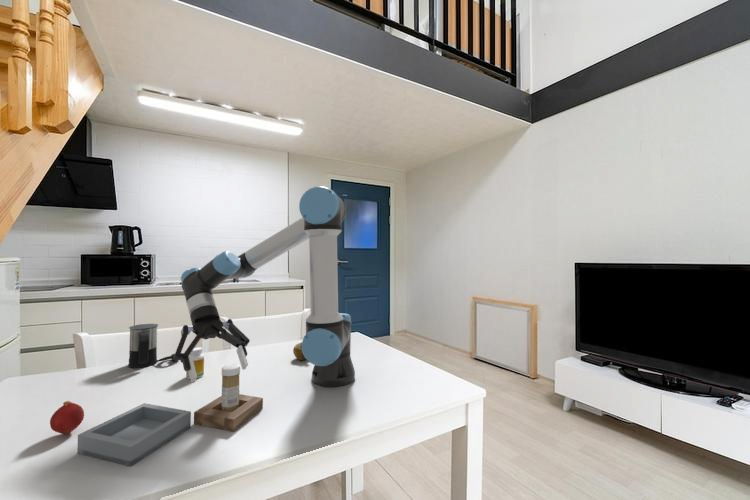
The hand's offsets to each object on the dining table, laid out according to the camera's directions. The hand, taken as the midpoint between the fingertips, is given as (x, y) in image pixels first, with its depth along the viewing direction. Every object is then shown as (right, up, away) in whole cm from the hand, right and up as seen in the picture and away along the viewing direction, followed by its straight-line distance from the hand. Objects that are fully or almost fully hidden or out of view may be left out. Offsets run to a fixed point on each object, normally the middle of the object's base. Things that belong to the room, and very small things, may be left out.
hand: (221, 373), depth 87 cm
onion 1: (-31, -10, -12) cm, 35 cm away
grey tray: (-13, -10, -14) cm, 21 cm away
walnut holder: (+3, -11, -2) cm, 11 cm away
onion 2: (+12, -11, +44) cm, 47 cm away
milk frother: (-43, -10, +36) cm, 57 cm away
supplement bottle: (-21, -11, +24) cm, 33 cm away
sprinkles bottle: (+3, -11, -2) cm, 12 cm away
